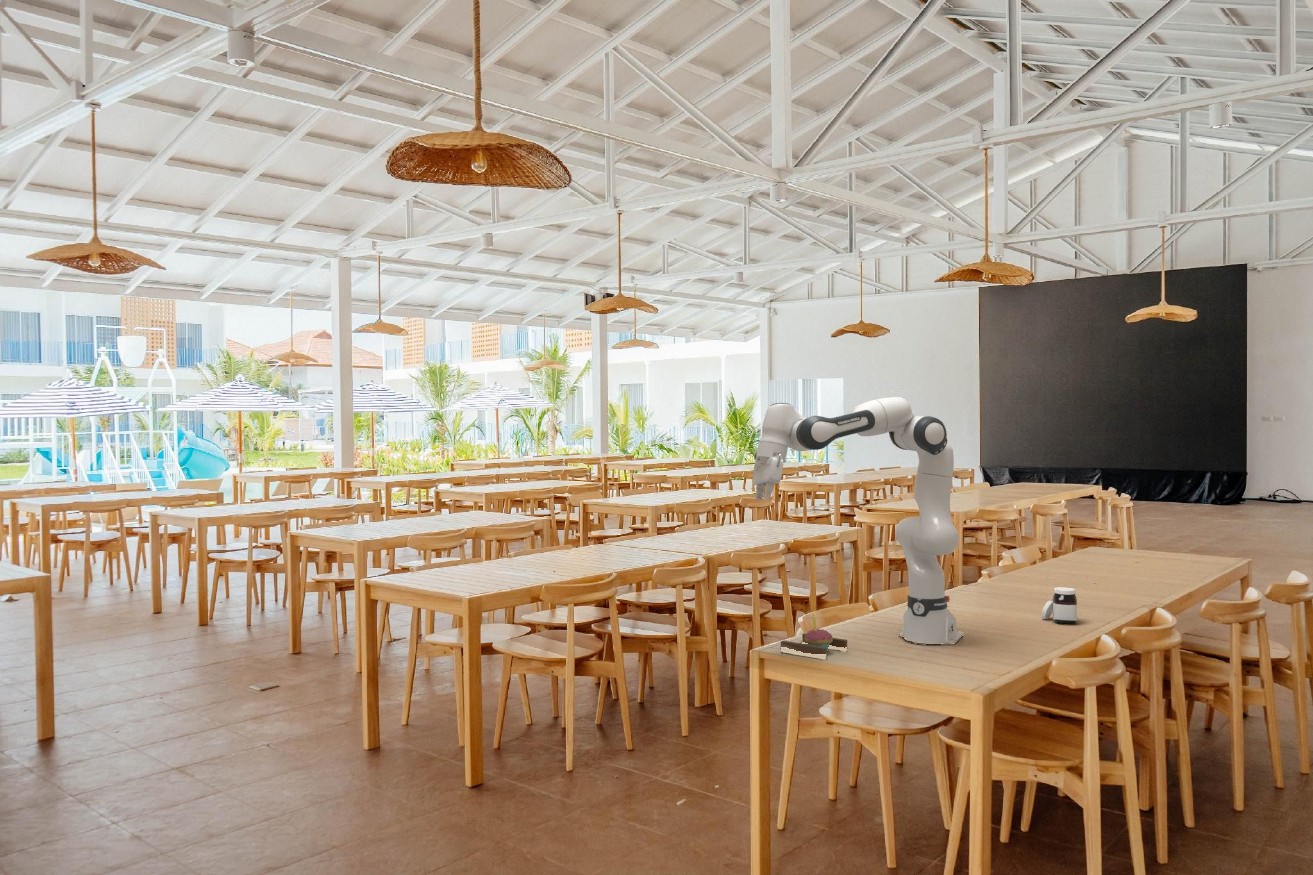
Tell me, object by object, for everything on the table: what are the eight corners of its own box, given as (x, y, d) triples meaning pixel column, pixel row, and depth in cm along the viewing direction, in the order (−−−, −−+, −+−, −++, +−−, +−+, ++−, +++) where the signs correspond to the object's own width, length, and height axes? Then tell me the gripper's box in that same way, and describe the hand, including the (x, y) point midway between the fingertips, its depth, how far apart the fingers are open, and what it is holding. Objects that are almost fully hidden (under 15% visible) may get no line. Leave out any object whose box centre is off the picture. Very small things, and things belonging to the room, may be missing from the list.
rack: (804, 644, 306) (804, 633, 306) (847, 651, 296) (847, 639, 296) (780, 652, 295) (780, 641, 295) (824, 660, 285) (824, 648, 285)
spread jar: (1078, 626, 328) (1078, 592, 328) (1042, 624, 332) (1042, 590, 331) (1075, 619, 339) (1075, 586, 339) (1040, 617, 343) (1040, 584, 343)
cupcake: (818, 657, 289) (818, 617, 288) (798, 652, 296) (798, 613, 295) (838, 653, 294) (838, 613, 294) (818, 648, 301) (818, 609, 300)
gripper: (791, 453, 284) (782, 499, 282) (772, 459, 304) (763, 502, 302) (770, 448, 283) (761, 495, 281) (753, 454, 303) (744, 498, 301)
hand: (762, 499), depth 292 cm, fingers open, 8 cm apart
